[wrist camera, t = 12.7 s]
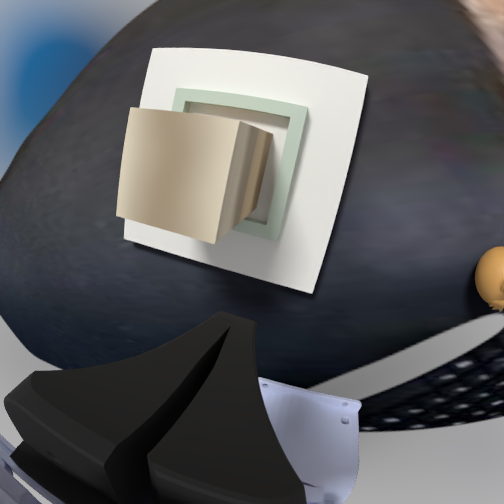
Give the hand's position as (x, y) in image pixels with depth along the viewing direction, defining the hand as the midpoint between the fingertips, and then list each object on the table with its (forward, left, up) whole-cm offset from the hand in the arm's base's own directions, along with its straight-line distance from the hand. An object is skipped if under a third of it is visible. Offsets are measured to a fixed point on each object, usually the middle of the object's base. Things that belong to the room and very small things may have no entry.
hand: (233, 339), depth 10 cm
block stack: (+4, -5, -9) cm, 11 cm away
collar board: (+4, -5, -10) cm, 12 cm away
